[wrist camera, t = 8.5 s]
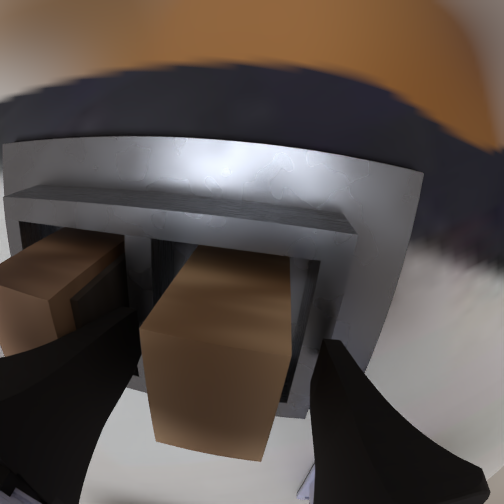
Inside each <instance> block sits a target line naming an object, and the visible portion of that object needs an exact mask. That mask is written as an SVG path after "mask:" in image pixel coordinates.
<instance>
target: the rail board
mask: <svg viewBox="0 0 504 504" xmlns="http://www.w3.org/2000/svg"><path fill="white" fill-rule="evenodd" d="M423 175H424V173H422V172H419V171H416V170H413V169H408V168H404V167H400V166H396V165H391V164H387V163H382V162H377V161H372V160H368V159H362V158H357V157H352V156H347V155H341V154H335V153H329V152H323V151H317V150H311V149H304V148H297V147H290V146H282V145H274V144H265V143H256V142H246V141H236V140H224V139H210V138H194V137H172V136H89V137H68V138H53V139H41V140H30V141H20V142H12V143H7V144H3V180H4V195H5V196H4V197H3V201H4V211H5V220H6V228H7V235H8V242H9V248H10V253H11V257H12V256H14V255H15V254H17V253H19V252H20V251H22V250H24V249H25V248H27V247H29V246H31V245H32V244H34V243H36V242H38V241H39V240H41V239H43V238H45V237H47V236H48V235H50V234H52V233H54V232H56V231H58V230H60V229H61V228H63V227H69V228H77V229H84V230H92V231H99V232H107V233H115V234H122V235H124V237H125V257H126V272H127V285H128V296H129V306H130V308H132V309H137V316H138V325H139V328H140V327H141V325H142V324H143V322H144V321H145V319H146V318H147V316H148V315H149V313H150V312H151V311H152V309H153V308H154V306H155V305H156V303H157V302H158V301H159V299H160V298H161V296H162V295H163V293H164V292H165V291H166V289H167V288H168V286H169V285H170V284H171V282H172V281H173V279H174V278H175V277H176V275H177V274H178V272H179V271H180V270H181V268H182V267H183V266H184V264H185V263H186V262H187V260H188V259H189V257H190V256H191V255H192V253H193V252H194V251H195V249H196V248H197V247H198V245H206V246H213V247H221V248H228V249H236V250H243V251H251V252H259V253H266V254H274V255H281V256H289V257H290V288H291V346H292V356H291V360H290V364H289V368H288V371H287V375H286V379H285V382H284V386H283V390H282V393H281V397H280V400H279V404H278V408H277V411H276V414H275V416H278V417H289V418H301V419H305V417H306V414H307V412H308V409H310V381H311V377H312V374H313V371H314V368H315V364H316V361H317V358H318V354H319V351H320V347H321V344H322V340H323V338H325V339H335V340H341V341H342V343H343V344H344V346H345V347H346V348H347V350H348V351H349V353H350V354H351V356H352V357H353V358H354V360H355V361H356V363H357V364H358V365H359V367H360V368H361V370H362V371H363V372H364V373H365V370H366V368H367V366H368V363H369V361H370V358H371V356H372V353H373V351H374V348H375V346H376V343H377V341H378V338H379V335H380V333H381V330H382V327H383V324H384V322H385V319H386V316H387V313H388V310H389V307H390V304H391V301H392V298H393V295H394V292H395V289H396V286H397V282H398V279H399V276H400V272H401V269H402V265H403V262H404V258H405V255H406V251H407V247H408V244H409V240H410V236H411V232H412V228H413V223H414V219H415V215H416V210H417V206H418V201H419V196H420V191H421V186H422V181H423ZM139 334H140V330H139ZM140 343H141V340H140ZM141 351H142V349H141ZM127 388H131V389H134V390H138V391H142V392H145V393H147V388H146V381H145V374H144V366H143V358H142V355H141V357H140V360H139V362H138V365H137V367H136V369H135V372H134V374H133V376H132V378H131V380H130V381H129V383H128V385H127Z"/></svg>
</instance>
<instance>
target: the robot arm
mask: <svg viewBox="0 0 504 504" xmlns="http://www.w3.org/2000/svg"><path fill="white" fill-rule="evenodd" d="M141 355H142V351H141V343H140V334H139V325H138V316H137V309H132V308H127V307H123V306H122V307H119V308H117V309H115V310H113V311H111V312H109V313H107V314H105V315H104V316H102V317H100V318H98V319H96V320H94V321H92V322H90V323H89V324H87V325H85V326H83V327H81V328H79V329H77V330H75V331H73V332H71V333H69V334H67V335H65V336H63V337H61V338H59V339H56V340H54V341H52V342H50V343H47V344H45V345H42V346H39V347H37V348H34V349H31V350H28V351H25V352H21V353H18V354H14V355H10V356H6V357H2V358H0V504H79V500H80V495H81V491H82V487H83V483H84V480H85V476H86V473H87V469H88V466H89V463H90V460H91V458H92V455H93V452H94V449H95V446H96V444H97V441H98V439H99V437H100V434H101V432H102V429H103V427H104V425H105V423H106V421H107V419H108V417H109V416H110V414H111V412H112V411H113V409H114V407H115V405H116V404H117V402H118V400H119V399H120V397H121V395H122V394H123V392H124V390H125V388H126V387H127V385H128V383H129V381H130V380H131V378H132V376H133V374H134V372H135V369H136V367H137V365H138V362H139V360H140V357H141ZM310 415H311V425H312V435H313V445H314V456H315V464H314V466H313V468H312V469H311V471H310V473H309V475H308V476H307V478H306V480H305V481H304V483H303V485H302V487H301V488H300V490H299V492H298V493H297V499H303V500H309V504H483V503H484V502H485V501H486V500H487V499H488V497H489V495H490V490H489V487H488V484H487V481H486V478H485V475H484V473H483V470H482V468H480V467H478V466H476V465H474V464H472V463H470V462H468V461H466V460H463V459H461V458H459V457H457V456H456V455H454V454H452V453H451V452H449V451H447V450H446V449H444V448H443V447H441V446H439V445H438V444H436V443H435V442H434V441H432V440H431V439H429V438H428V437H427V436H425V435H424V434H423V433H422V432H420V431H419V430H418V429H416V428H415V427H414V426H413V425H412V424H410V423H409V422H408V421H407V420H406V419H405V418H404V417H403V416H402V415H401V414H400V413H399V412H398V411H396V410H395V409H394V408H393V407H392V406H391V404H390V403H389V402H388V401H387V400H386V399H385V398H384V397H383V396H382V395H381V393H380V392H379V391H378V390H377V389H376V388H375V386H374V385H373V384H372V383H371V381H370V380H369V379H368V378H367V376H366V375H365V374H364V372H363V371H362V370H361V368H360V367H359V365H358V364H357V363H356V361H355V360H354V358H353V357H352V356H351V354H350V353H349V351H348V350H347V348H346V347H345V346H344V344H343V343H342V341H341V340H335V339H325V338H323V340H322V344H321V347H320V351H319V354H318V358H317V361H316V364H315V368H314V371H313V374H312V377H311V381H310Z"/></svg>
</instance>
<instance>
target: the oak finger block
mask: <svg viewBox="0 0 504 504" xmlns="http://www.w3.org/2000/svg"><path fill="white" fill-rule="evenodd" d="M139 330H140V340H141V349H142V358H143V366H144V374H145V381H146V388H147V394H148V401H149V407H150V413H151V418H152V424H153V429H154V434H155V439H156V441H157V442H161V443H164V444H168V445H172V446H176V447H180V448H185V449H189V450H193V451H198V452H203V453H208V454H213V455H219V456H224V457H230V458H237V459H244V460H251V461H259V462H261V460H262V457H263V454H264V451H265V448H266V444H267V441H268V438H269V435H270V431H271V428H272V425H273V421H274V418H275V414H276V411H277V408H278V404H279V400H280V397H281V393H282V390H283V386H284V382H285V379H286V375H287V371H288V368H289V364H290V360H291V356H292V346H291V288H290V257H289V256H281V255H274V254H266V253H259V252H251V251H243V250H236V249H228V248H221V247H213V246H206V245H198V247H197V248H196V249H195V251H194V252H193V253H192V255H191V256H190V257H189V259H188V260H187V262H186V263H185V264H184V266H183V267H182V268H181V270H180V271H179V272H178V274H177V275H176V277H175V278H174V279H173V281H172V282H171V284H170V285H169V286H168V288H167V289H166V291H165V292H164V293H163V295H162V296H161V298H160V299H159V301H158V302H157V303H156V305H155V306H154V308H153V309H152V311H151V312H150V313H149V315H148V316H147V318H146V319H145V321H144V322H143V324H142V325H141V327H140V328H139Z"/></svg>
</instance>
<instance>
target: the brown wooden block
mask: <svg viewBox="0 0 504 504" xmlns="http://www.w3.org/2000/svg"><path fill="white" fill-rule="evenodd" d="M122 306H123V307H127V308H130V306H129V296H128V285H127V272H126V257H125V237H124V235H122V234H115V233H107V232H99V231H92V230H84V229H77V228H69V227H63V228H61V229H60V230H58V231H56V232H54V233H52V234H50V235H48V236H47V237H45V238H43V239H41V240H39V241H38V242H36V243H34V244H32V245H31V246H29V247H27V248H25V249H24V250H22V251H20V252H19V253H17V254H15V255H14V256H12V257H10V258H9V259H7V260H5V261H4V262H2V263H1V264H0V345H1V348H2V350H3V353H4V355H5V357H6V356H10V355H14V354H18V353H21V352H25V351H28V350H31V349H34V348H37V347H39V346H42V345H45V344H47V343H50V342H52V341H54V340H56V339H59V338H61V337H63V336H65V335H67V334H69V333H71V332H73V331H75V330H77V329H79V328H81V327H83V326H85V325H87V324H89V323H90V322H92V321H94V320H96V319H98V318H100V317H102V316H104V315H105V314H107V313H109V312H111V311H113V310H115V309H117V308H119V307H122Z"/></svg>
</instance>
